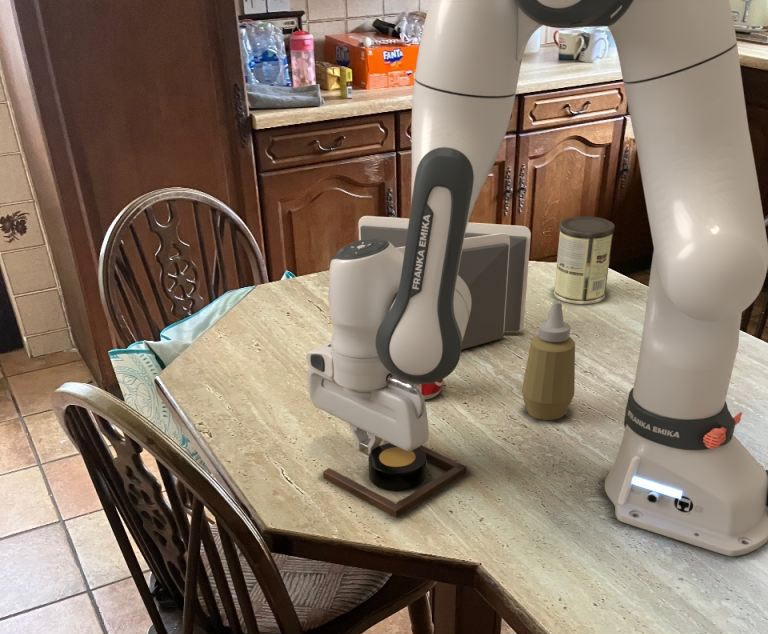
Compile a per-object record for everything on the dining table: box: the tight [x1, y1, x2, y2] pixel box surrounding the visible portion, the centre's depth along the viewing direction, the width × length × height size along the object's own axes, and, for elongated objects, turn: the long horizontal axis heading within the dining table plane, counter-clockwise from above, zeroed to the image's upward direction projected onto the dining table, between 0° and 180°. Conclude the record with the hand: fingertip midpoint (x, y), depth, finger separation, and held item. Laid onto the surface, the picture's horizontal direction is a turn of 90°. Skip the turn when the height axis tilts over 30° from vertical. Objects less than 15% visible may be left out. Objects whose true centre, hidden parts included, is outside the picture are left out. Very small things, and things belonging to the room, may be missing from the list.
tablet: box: [357, 215, 532, 351], centre depth 153 cm, size 35×22×20 cm, turn 111°
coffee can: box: [553, 216, 616, 305], centre depth 168 cm, size 10×10×14 cm
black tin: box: [367, 442, 427, 492], centre depth 119 cm, size 8×8×3 cm
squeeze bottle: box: [521, 300, 576, 421], centre depth 129 cm, size 8×8×18 cm
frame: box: [322, 445, 468, 519], centre depth 120 cm, size 14×14×1 cm
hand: (368, 452), depth 122 cm, fingers closed
